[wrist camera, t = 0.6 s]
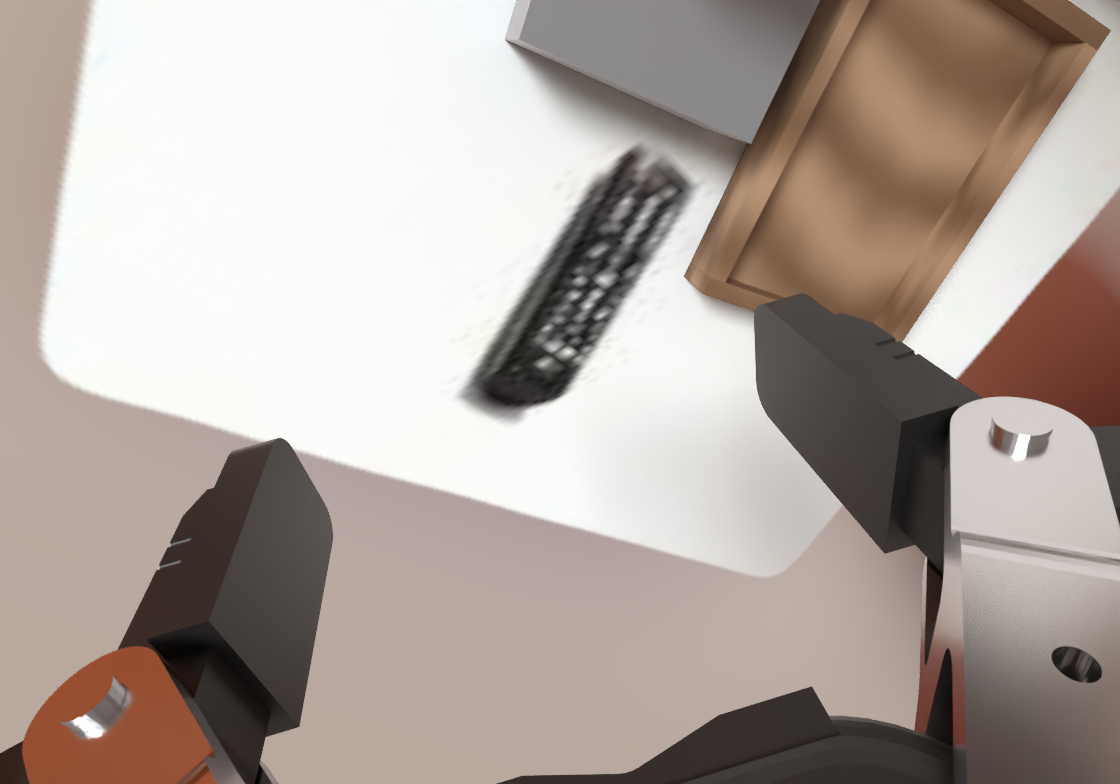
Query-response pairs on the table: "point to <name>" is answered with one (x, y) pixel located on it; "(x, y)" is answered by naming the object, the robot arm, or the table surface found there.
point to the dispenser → (674, 51)
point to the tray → (889, 150)
